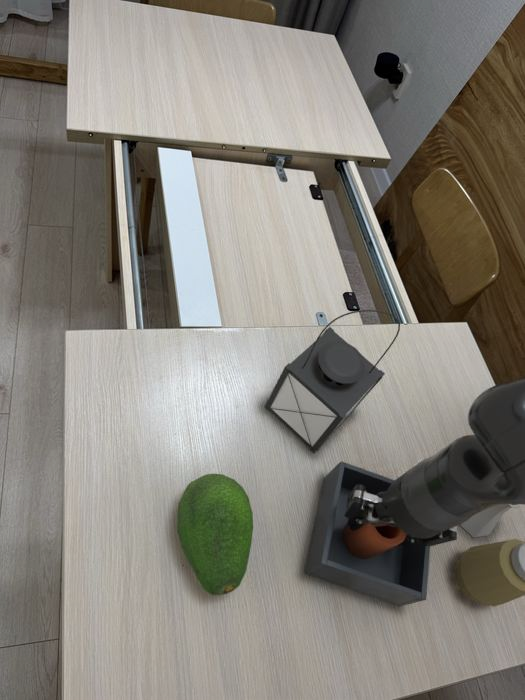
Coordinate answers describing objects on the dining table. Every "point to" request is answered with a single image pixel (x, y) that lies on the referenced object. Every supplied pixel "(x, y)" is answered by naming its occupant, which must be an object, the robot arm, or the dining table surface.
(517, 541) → the squeeze bottle
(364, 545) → the jar
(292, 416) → the lantern
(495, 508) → the flask
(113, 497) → the dining table surface
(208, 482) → the fruit
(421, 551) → the basin
